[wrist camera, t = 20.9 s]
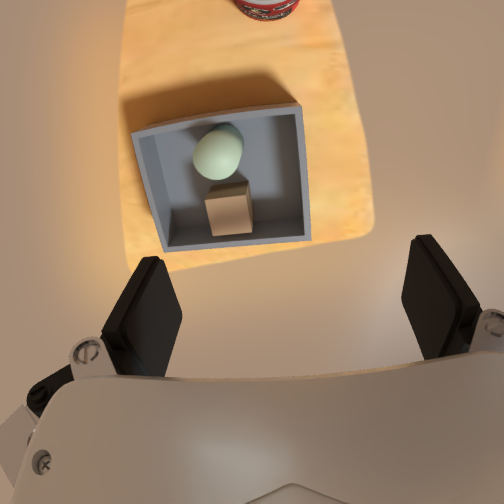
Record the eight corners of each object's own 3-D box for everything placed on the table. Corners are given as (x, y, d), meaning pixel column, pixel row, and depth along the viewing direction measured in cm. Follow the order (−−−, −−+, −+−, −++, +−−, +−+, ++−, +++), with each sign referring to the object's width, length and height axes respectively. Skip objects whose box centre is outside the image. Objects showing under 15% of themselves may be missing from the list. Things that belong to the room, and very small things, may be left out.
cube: (211, 185, 41) (204, 200, 37) (248, 180, 40) (245, 195, 36) (218, 218, 43) (212, 236, 39) (254, 214, 43) (251, 232, 39)
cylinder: (202, 127, 36) (189, 138, 31) (241, 122, 36) (236, 132, 30) (208, 163, 39) (197, 182, 33) (246, 159, 39) (242, 177, 33)
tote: (147, 124, 37) (130, 133, 32) (297, 101, 35) (301, 106, 30) (174, 232, 46) (163, 252, 41) (307, 220, 43) (311, 240, 39)
